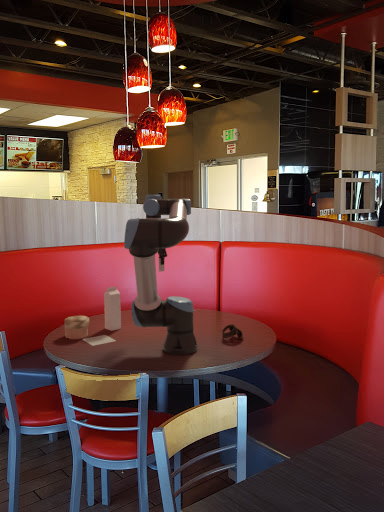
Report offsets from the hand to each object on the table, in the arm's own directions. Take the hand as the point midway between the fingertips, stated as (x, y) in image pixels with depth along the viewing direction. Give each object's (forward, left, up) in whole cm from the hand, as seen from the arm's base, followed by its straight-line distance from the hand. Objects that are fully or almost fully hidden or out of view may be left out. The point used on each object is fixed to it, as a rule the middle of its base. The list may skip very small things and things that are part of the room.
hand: (154, 269), depth 232 cm
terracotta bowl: (+16, +35, -32) cm, 50 cm away
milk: (+17, +15, -32) cm, 39 cm away
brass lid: (+16, +34, -26) cm, 46 cm away
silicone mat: (+3, +29, -32) cm, 43 cm away
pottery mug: (-32, -24, -32) cm, 51 cm away
